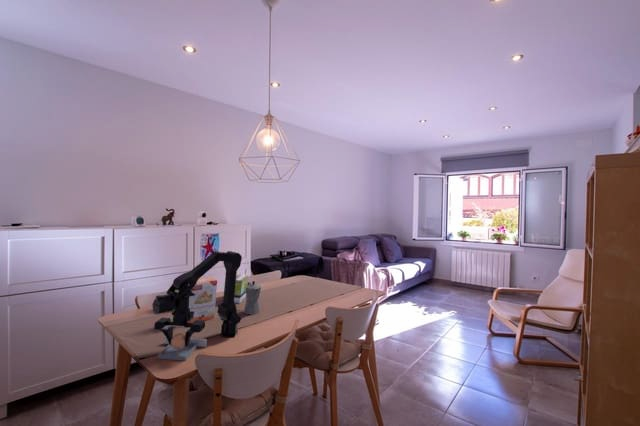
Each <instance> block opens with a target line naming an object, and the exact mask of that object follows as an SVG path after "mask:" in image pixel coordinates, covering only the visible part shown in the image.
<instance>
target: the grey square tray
mask: <svg viewBox="0 0 640 426" xmlns="http://www.w3.org/2000/svg"><path fill="white" fill-rule="evenodd" d="M197 348H198V346H197V344H195V343H188V345H187V346H184V347H183V348H181V349H174V348H173V347H172V346H171V345H170V344H167V346H166V347H164V349H162V350H161V351H160V352H159V353H158V354H157V359H160V360H173V361H174V360H175V361H187V360H188V358H189V357H190V356H191V355H192V354H193V352H195V351H196V349H197Z"/></svg>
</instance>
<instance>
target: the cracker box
mask: <svg viewBox="0 0 640 426" xmlns="http://www.w3.org/2000/svg"><path fill="white" fill-rule="evenodd" d="M217 288H218V280H217V279H215V278H213V277H212V278H211V277H209V278H203V279H198V281H197V283H196V285H195V286H194V287H193V288H192V290H191V291H192V292H193V293H194V294H195V295H194V296H190V297H189V308H190V311H194V316H193V319H191V320H190V321H188V323H193V322H194V321H195V320H201V321H204V322H205V321H208V320H211V319H215V314H216V313H215V311H216V310H215V309H216V301H217Z"/></svg>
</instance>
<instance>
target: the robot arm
mask: <svg viewBox="0 0 640 426" xmlns="http://www.w3.org/2000/svg"><path fill="white" fill-rule="evenodd" d="M242 260H243V258H242V255H241V254H240V253H239V252H237V251H232V250H228V251H226V252H223V251H217V250H216V251H215V250H214V251H212V252H211V254H210V255H208V256H207V257H206V258H205V259H204V260H202V261H201V262H200V263H198V264H197V265H196V266H195V267H193V268H192V269H191V270H189V271H188V272H187V271H186V272H184V273H182V274H180V275H178V276H177V277H175V278H174V279H173V281H172V284H171V285H170V287H169V288H168V290H167V291H166V294H162V295H160V294H158V295H156V296H155V299H154V300H153V303H152V311H153V313H154V315H160V314H164V313H167V312H171V316H172V319H171V318H170V317H161V318H159V319H158V320H157V321H155V322H154V324H153V329H154V330H158V331H159V330H160V332H162V333H163V335H164V337H165V336H166V338H167V340H168V342H169V344H170V345H171V340H172V338H173V337H174V328H186V329H187V331H186V332H185V334H184V335H185V346H187V345H188V343H189V341H190V338H192V336H193V334H195V333H197V334H198V333H201V332H202V331H203V330H204V329H205V328H206V322H205V320H204V321H201V320H195V321H194V322H193V323H188V321H190V320H191V319H193V316H194V311H190V308H189V297H190V296H194V295H195V294H194V293H193V292H192V291H191V290H192V288H193V287H194V286H195V285H196V283H197V281H198V280H200V278H202V277H203V276H204V275H205V274H206V273H208V272H209V271H210V270H211V269H212V268H213V267H215V266H216V265H217V264H218V263H219V262H223V266H224V268H225V278H224V287H223V289H224V290H223V291H224V292H223V299H222V302H221V303H219V304H217V312H216V313H217V314H218V317H219V318H220V320H221V321H222V324H221V330H220V337H228V338H235V337H236V335H237V334H238V332H239V331H238V324H240V323H241V320H242V317H240V316H239V315H238V313H237V306H236V303H235V302H234V295H235V284H236V274H238V273H237V272H238V270H239V268H240V267H241V264H242ZM175 290H177V291H179V292H175ZM169 344H168V345H169Z"/></svg>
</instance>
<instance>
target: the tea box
mask: <svg viewBox="0 0 640 426" xmlns="http://www.w3.org/2000/svg"><path fill="white" fill-rule="evenodd" d="M248 281H249V275H248V274H241V273H240V274H239V273H236V284H235V295H234V302H235V304H241V303H242V302H243V300H245V298H246V288H245V287H246V285H247V284H248Z"/></svg>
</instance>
